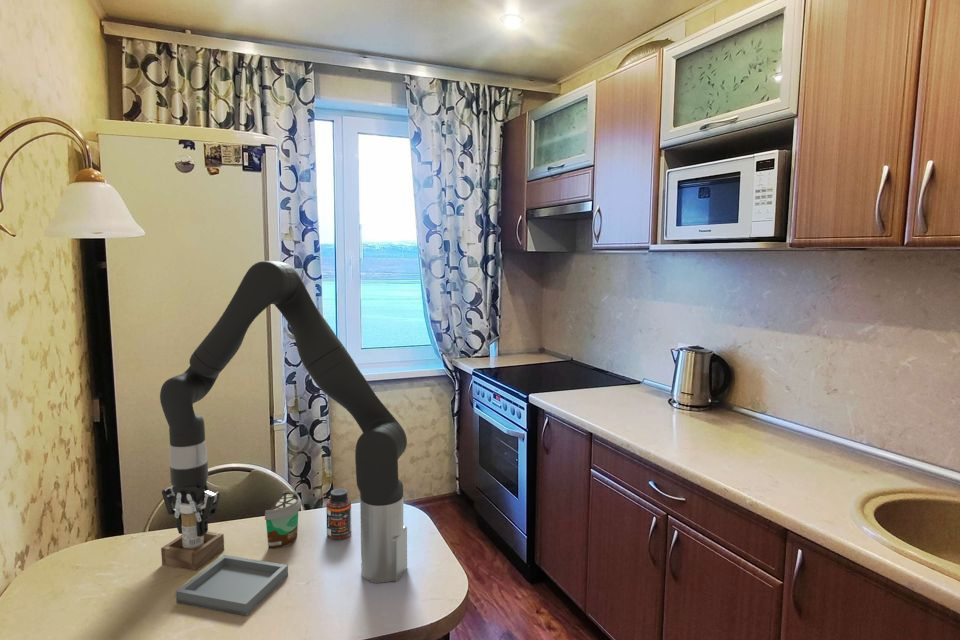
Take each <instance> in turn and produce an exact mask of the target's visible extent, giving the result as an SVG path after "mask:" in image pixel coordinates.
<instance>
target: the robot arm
mask: <svg viewBox="0 0 960 640" xmlns="http://www.w3.org/2000/svg"><path fill="white" fill-rule="evenodd" d="M301 278H302V277H301V276H300V275H299V273H298V271H297V270H296V269H295V268H294V267H293V266H292V265H290V264H289V263H287V262H286V263H285V262H284V261H278V260H277V261H276V260H262V261H258V262H256V263H254V264H252V265H251V266H250V267H249V268H248V270H247V271H246V273H245V274H244V276H243V278H242V280H241V281H240V283H239V286H238V287H237V289H236V291H235V293H234V294H233V296H232V298H231V300H230V301H229V303H228V305H227V306H226V308H225V310H224V311H223V313H222V315H221V316H220V317H219V319H218V321H216V323H215V325H214V326H213V327H212V329H211V330H210V331H209V332H208V334H207V335H206V336H205V338H204V339H203V340H202V341H201V342H200V344H198V345H197V347H196V348H195V350H194V351H193V353H192V354H191V356H190V358H189V367H188V368H187V369H186V370H185V371H184V372H183V373H181V374H178V375H175V376H172V377H170V378H168V379H166V380H165V381H164V383H163V384H162V385H161V387H160V392H159V402H160V406H161V408H162V411H163V414H164V417H165V419H166V422H167V425H168V428H169V429H168V432H169V453H168V454H169V455H168V456H169V459H168V460H169V472H170V473H169V474H170V484H171V485H170V486H168V487H166V488H164V489H162V490H161V495H162V498H163V502H164V505H165V508H166V511H167V514H168V515H169V516H172V515H173V516H174V518H175V519H176V529H177V531H178V534H180V535H182V525H181V524H182V520H181V512H180V504H182V503H185V504H190V506H191V509H192V512H193V513H195V515H196V519H197V536H198V537H202V536H203V535H205V534H206V533H207V532H209V521H208V520H209V519H211V518H213V517H214V516H216V514H217V509H218V504H219V499H220V495H221V494H220V492H219V491H215V492H213V491H210V488H209V487H208V485H207V481H208V480H209V464H208V461H209V460H208V448H207V447H208V446H207V442H206V432H205V431H206V426H205V420H204V417H203V416H202V415H200V414H198V413H196V412H195V410H194V406H193V405H194V404H195V403H197V402H199V401H201V400H202V399H204V398H205V397H206V395H208V394H209V392H210V391H211V389H212V388H213V387H214V385H215V383H216V381H217V379H218V377H219V375H220V374H221V372H222V371H223V370H224V369H225V367H226V366H227V365H229V363H230V361H231V360H232V359H233V357H234V356H235V355H236V354H237V352H238V351H239V349H240V348H241V346H242V344H243V341H244V339H245V336H246V333H247V332H248V329H249V328H250V327H251V325H252V323H253V322H254V321H255V319H256V318H257V317H258V316H259V315H260V314H261V313H262V312H263V311H264V310H266V309H267V308H268V307H269V306H270V305H274V306H275V307H276V309H277V310H278V311H279V312H280V314H281V315H282V317H284V319H285V320H286V322H287V323H288V325H289V327H290V329H291V331H292V333H293V337H294V341H295V345H296V349H297V353H298V355H299V358H300V361H301V363H302V365H303V367H304V368H305V370H306V371H307V372H308V375H309V376H310V377H311V378H312V380H313V381H314V383H315V384H316V386H317V387H318V388H319V389H320V390H321V391H322V392H323V393H324V394H326V396H328V397H329V398H330V399H332V400H333V401H334V402H336V403H337V404H339V405H340V406H341V407H343V408H344V409H345V410H346V411H347V412H348V413H349V414H350V415H351V416H352V418H353V419H354V420H355V422H356V424H357V425H358V426H359V428H360V430H361V432H362V434H361V435H360V436H359V437H358V439H357V441H356V445H355V453H354V457H355V458H354V460H355V476H356V477H355V478H356V486H357V489H358V491H359V498H360V501H359V502H360V503H359V504H360V505H359V506H360V557H361V558H360V560H361V562H360V568H361V576H362V578H363V579H365V580H366V581H369V582H371V583H376V584H377V583H380V584H381V583H387V582H388V583H389V582H397V581H399V579H400V578H401V577H402V575H403V574H404V572H405V570H406V569H407V568H408V527H407V526H405V525H404V524H405V523H404V484H403V482H402V481H401V480H400V479H399V459H400V458H401V457H402V456H403V454H404V453H405V451H406V449H407V444H408V438H407V434H406V432H405V430H404V428H403V426H402V425H401V423H400V422H399V421H398V420H397V419H396V417H394V416H393V414H392V413H391V412H390V411H389V409H388V408H387V407H386V406H385V405H384V404H383V402H382V401H381V400H380V399H379V397H378V396H377V395H376V393H375V392H374V390H373V389H372V387H371V385H370V384H369V382H368V381H367V379H366V378H365V376H364V375H363V373H362V371H360V369H359V367H358V366H357V364H356V363H355V360H354V359H353V357H351V355H350V353H349V351H348V350H347V349H346V347H345V346H344V345H343V343H342V342H341V339H339V338H338V336H337V335H336V333H335V332H334V330H333V329H332V328H331V326H330V325H329V323H328V321H327V320H326V319H325V318H324V316H323V315H322V314H321V312H320V311H319V309H318V307H317V306H316V305H315V303H314V301H313V299H312V297H311V295H310V294H309V292H308V290H307V288H306V285H305V283H304V282H303V280H302V279H301ZM200 503H202V505H201V506H199V507H197V505H198V504H200ZM201 510H202V515H201Z"/></svg>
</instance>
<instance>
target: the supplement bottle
mask: <svg viewBox="0 0 960 640" xmlns="http://www.w3.org/2000/svg"><path fill="white" fill-rule="evenodd" d="M329 497H330V498H329V499H328V500H327V502H326V536H327V537H328V538H329V539H330V540H334V541H340V540H341V541H342V540H344V539H347V538H349V537H350V536H351V534H352V501H351V499H350V498H349V497H348V490H347V489H345V488H334V489H332V490H331V491H330V496H329Z"/></svg>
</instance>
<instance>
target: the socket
mask: <svg viewBox="0 0 960 640" xmlns="http://www.w3.org/2000/svg"><path fill="white" fill-rule="evenodd" d="M224 538H225V537H224V533H220V532H213V531H207V533H206V534H205V535H204V545H202V546H201V547H200V548H198V549H197V550H195V551H193V550H187V549H183V543H182V534H180V536H178V537H176V538H175V539H173V540H171V541H170V542H168V543H167V544H165V545H163V546H162V547H160V554H161V566H166V567H172V568H178V569H182V570H187V571H188V570H189V571H193V572H194V571H195V572H197V571H198V570H199V569H201V568H203V567H204V566H205V565H206V564H208V563H209V562H210V561H212V560H213V559H215V558H216V557H217V556H218V555H220V554H222V552H224V551H225V539H224Z"/></svg>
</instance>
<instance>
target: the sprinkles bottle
mask: <svg viewBox="0 0 960 640" xmlns="http://www.w3.org/2000/svg"><path fill="white" fill-rule="evenodd" d="M201 505H202V503H200V504H198V505H197V507H199V506H201ZM180 512H181V520H182V524H181V525H182V534H181V535H182V543H183V549H187V550H193V551H195V550H197V549H198V548H200V547H201V546H202V545H204V535H203V536H202V537H198V536H197V519H196V515H195V513H193V512H192V509H191V506H190V504H185V503H182V504H180ZM201 515H202V510H201Z"/></svg>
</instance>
